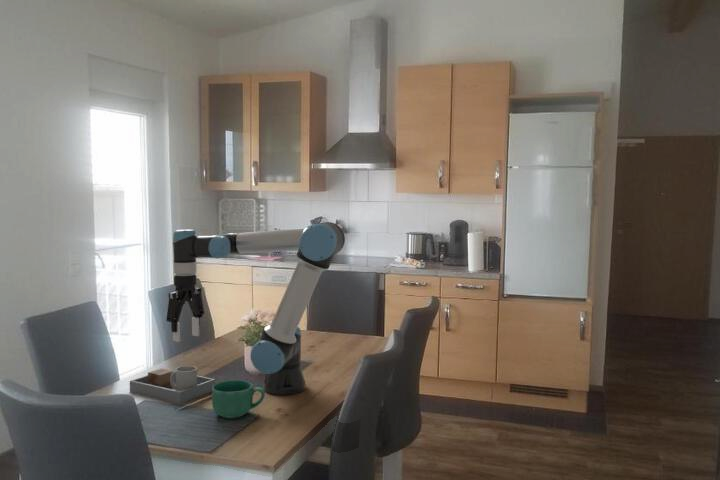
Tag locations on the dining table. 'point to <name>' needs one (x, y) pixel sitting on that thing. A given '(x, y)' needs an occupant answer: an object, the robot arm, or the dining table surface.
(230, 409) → the mug
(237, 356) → the dining table surface
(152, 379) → the walnut block
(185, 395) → the gray tray
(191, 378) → the cup
